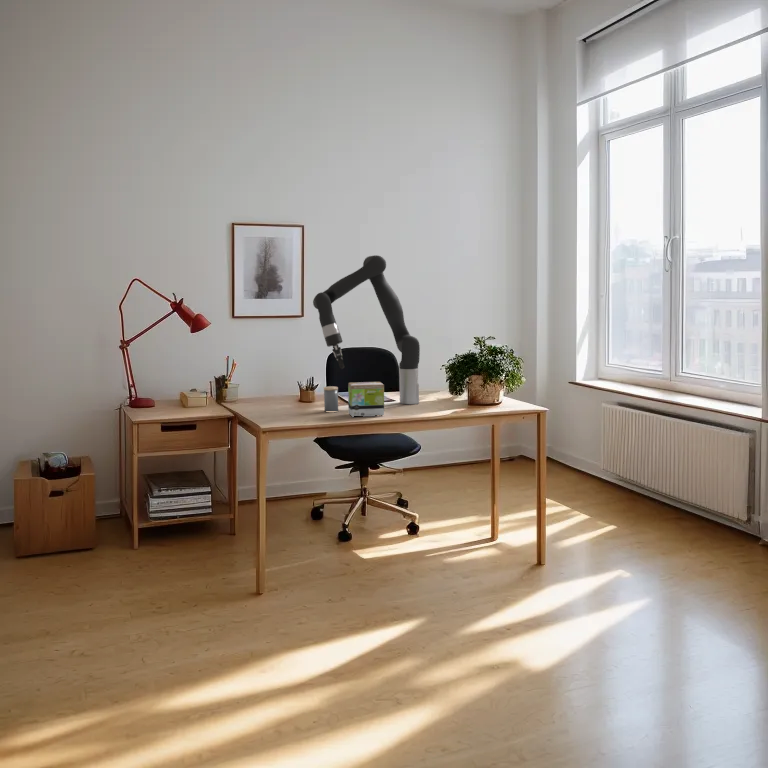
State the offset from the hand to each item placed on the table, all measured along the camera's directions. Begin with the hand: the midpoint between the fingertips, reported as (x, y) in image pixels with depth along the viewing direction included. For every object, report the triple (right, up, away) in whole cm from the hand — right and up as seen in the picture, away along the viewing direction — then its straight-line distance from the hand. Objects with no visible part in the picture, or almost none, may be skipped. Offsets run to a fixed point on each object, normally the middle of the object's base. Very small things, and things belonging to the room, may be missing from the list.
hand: (342, 368), depth 373 cm
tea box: (+11, -22, -8) cm, 26 cm away
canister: (-5, -20, +3) cm, 21 cm away
